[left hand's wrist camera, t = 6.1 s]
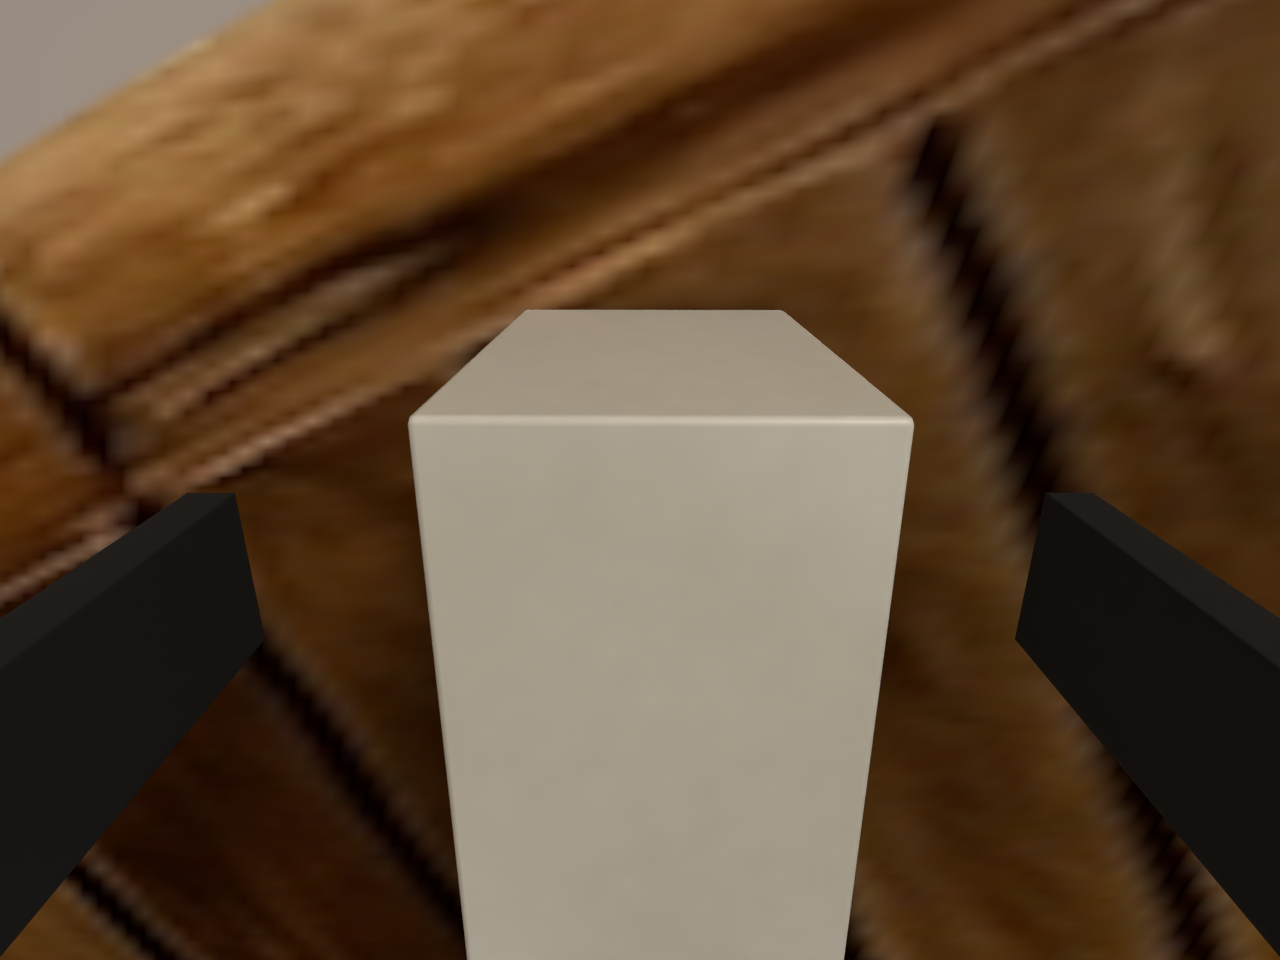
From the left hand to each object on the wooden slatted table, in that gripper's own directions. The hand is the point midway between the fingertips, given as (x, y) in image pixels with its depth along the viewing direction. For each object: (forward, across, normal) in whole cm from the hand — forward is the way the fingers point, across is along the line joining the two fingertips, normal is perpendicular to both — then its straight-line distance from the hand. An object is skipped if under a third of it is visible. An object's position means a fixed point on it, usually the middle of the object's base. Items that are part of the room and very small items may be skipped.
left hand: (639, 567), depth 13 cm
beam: (+3, 0, +13) cm, 14 cm away
